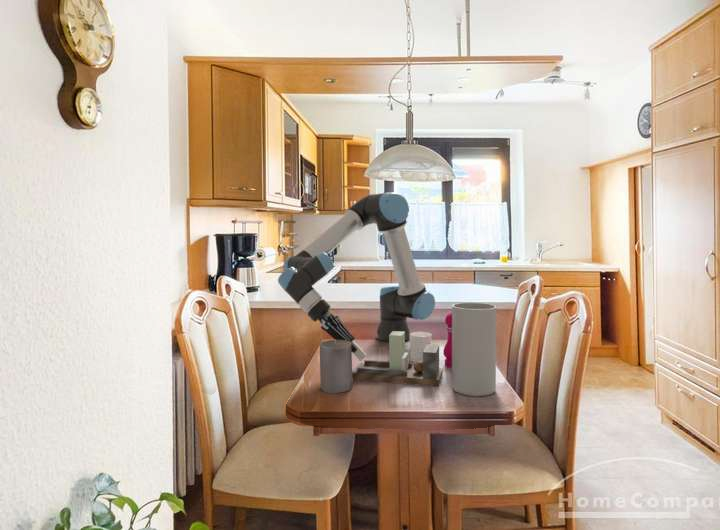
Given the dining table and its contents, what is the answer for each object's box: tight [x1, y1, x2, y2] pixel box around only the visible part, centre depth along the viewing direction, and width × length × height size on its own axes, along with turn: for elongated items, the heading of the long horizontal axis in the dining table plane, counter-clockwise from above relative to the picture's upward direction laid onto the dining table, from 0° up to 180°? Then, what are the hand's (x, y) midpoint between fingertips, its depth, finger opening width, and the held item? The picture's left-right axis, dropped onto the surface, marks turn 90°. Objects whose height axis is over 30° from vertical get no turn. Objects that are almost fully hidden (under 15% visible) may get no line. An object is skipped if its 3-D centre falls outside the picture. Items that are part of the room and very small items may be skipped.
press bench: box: [352, 343, 444, 387], centre depth 148 cm, size 28×12×10 cm, turn 75°
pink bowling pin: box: [443, 309, 452, 368], centre depth 160 cm, size 7×7×20 cm
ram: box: [388, 331, 409, 371], centre depth 147 cm, size 5×7×12 cm
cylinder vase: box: [451, 302, 497, 397], centre depth 134 cm, size 12×12×25 cm
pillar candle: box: [319, 339, 353, 394], centre depth 138 cm, size 10×10×15 cm
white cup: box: [409, 331, 433, 364], centre depth 165 cm, size 8×8×10 cm
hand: (363, 357), depth 151 cm, fingers closed
